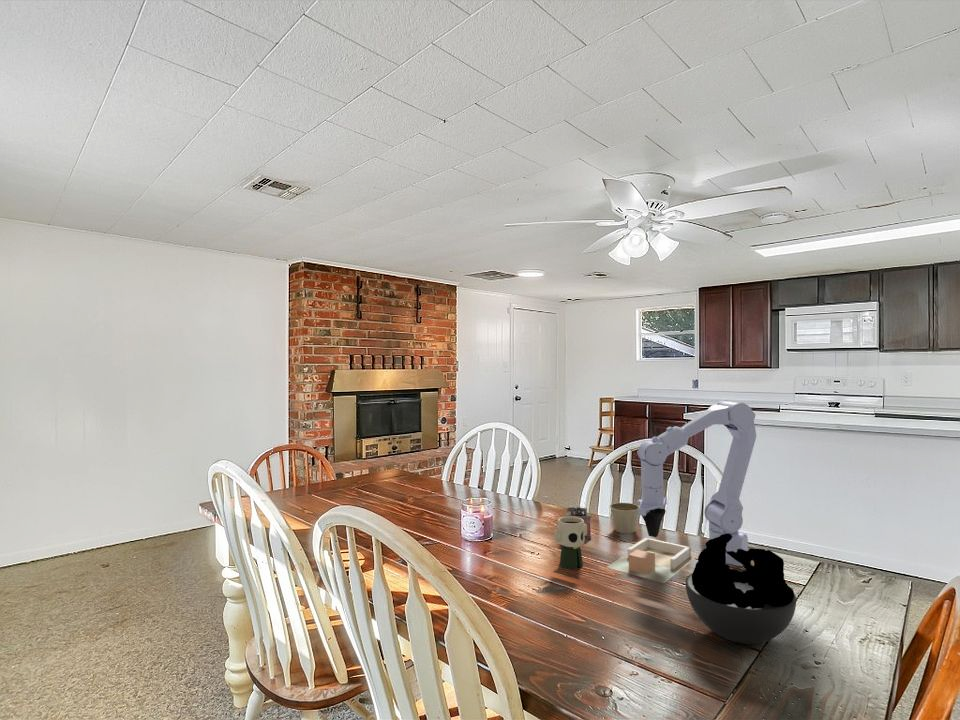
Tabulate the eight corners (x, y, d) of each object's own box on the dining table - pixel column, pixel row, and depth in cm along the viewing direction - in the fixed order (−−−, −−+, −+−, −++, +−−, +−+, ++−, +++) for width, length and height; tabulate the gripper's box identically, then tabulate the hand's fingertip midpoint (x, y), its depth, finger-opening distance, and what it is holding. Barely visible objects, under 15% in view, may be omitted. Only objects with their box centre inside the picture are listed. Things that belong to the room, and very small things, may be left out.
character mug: (563, 577, 140) (563, 526, 140) (547, 568, 146) (546, 519, 146) (595, 568, 145) (595, 520, 145) (578, 560, 151) (578, 513, 151)
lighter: (590, 537, 171) (590, 505, 171) (591, 540, 167) (591, 508, 167) (564, 536, 171) (564, 505, 171) (565, 540, 168) (565, 508, 168)
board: (696, 561, 149) (696, 557, 149) (664, 587, 133) (664, 582, 133) (641, 548, 160) (641, 545, 160) (605, 571, 143) (605, 567, 143)
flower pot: (633, 540, 167) (633, 512, 167) (605, 534, 173) (604, 507, 173) (644, 532, 175) (644, 505, 175) (617, 527, 181) (616, 501, 181)
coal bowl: (796, 677, 95) (794, 570, 95) (676, 647, 105) (675, 550, 105) (798, 628, 112) (796, 537, 112) (695, 606, 122) (694, 523, 122)
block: (655, 568, 142) (654, 553, 142) (647, 574, 138) (646, 559, 138) (637, 564, 145) (636, 549, 145) (628, 570, 141) (628, 554, 141)
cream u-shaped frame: (690, 556, 150) (690, 547, 150) (674, 569, 141) (674, 559, 141) (646, 546, 159) (645, 537, 159) (627, 557, 150) (627, 548, 150)
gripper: (649, 479, 155) (650, 526, 155) (626, 489, 144) (627, 540, 144) (673, 482, 151) (674, 531, 151) (652, 493, 140) (653, 545, 140)
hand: (653, 536), depth 147 cm, fingers closed
